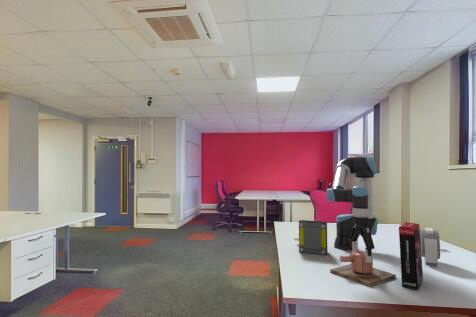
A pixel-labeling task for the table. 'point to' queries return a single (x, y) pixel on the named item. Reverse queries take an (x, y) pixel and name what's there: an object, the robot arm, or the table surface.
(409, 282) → the graphics card box
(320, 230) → the electrical component
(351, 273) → the base
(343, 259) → the cap
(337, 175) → the robot arm
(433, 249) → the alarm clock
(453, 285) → the table surface
